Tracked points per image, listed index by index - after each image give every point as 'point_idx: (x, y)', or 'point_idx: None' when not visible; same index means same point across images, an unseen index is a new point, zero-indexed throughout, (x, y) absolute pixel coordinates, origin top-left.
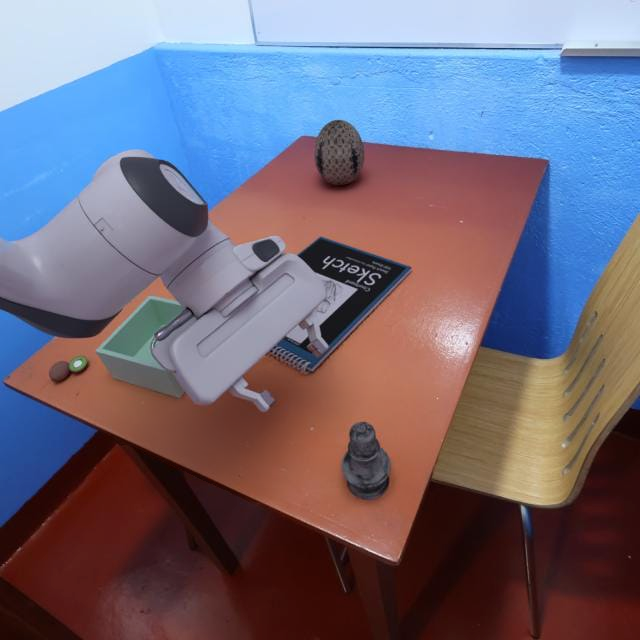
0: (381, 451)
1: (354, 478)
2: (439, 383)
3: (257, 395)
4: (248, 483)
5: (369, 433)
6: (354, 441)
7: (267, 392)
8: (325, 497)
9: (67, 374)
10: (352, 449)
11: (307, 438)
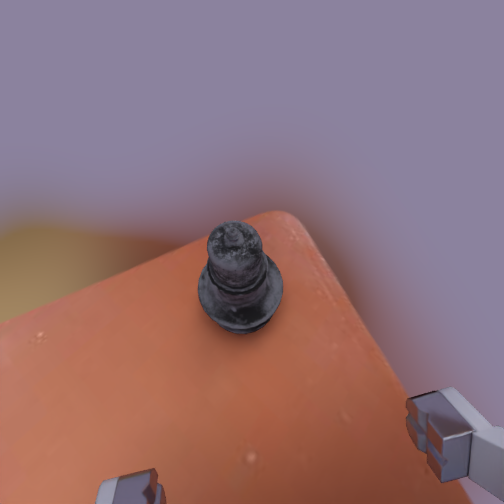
0: (203, 285)
1: (273, 277)
2: (6, 355)
3: (489, 434)
4: None
5: (227, 225)
6: (260, 240)
7: (439, 428)
8: (313, 321)
9: None
10: (261, 265)
11: (272, 442)
